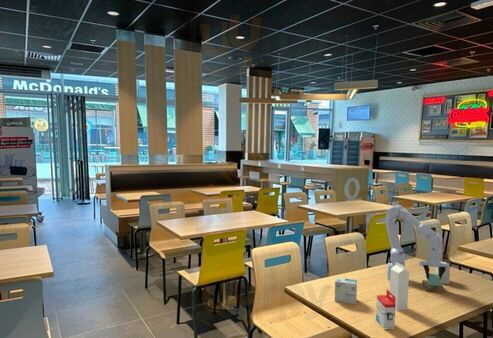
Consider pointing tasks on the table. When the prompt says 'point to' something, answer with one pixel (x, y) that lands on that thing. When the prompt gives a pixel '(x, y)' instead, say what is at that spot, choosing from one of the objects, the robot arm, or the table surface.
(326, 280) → the table surface
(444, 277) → the small box
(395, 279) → the milk
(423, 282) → the walnut slab
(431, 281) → the teal block
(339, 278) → the light bulb box
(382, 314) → the ink box
